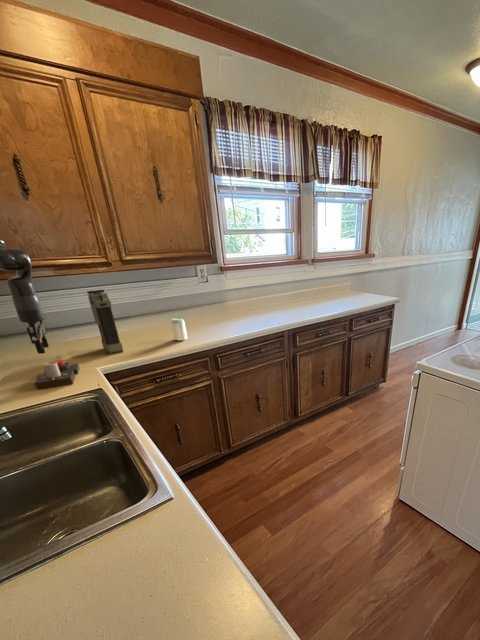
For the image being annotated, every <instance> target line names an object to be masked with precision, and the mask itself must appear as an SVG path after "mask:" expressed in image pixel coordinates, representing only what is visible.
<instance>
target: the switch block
mask: <svg viewBox="0 0 480 640" xmlns="http://www.w3.org/2000/svg"><path fill="white" fill-rule="evenodd" d="M64 363H65V365H63V366H59V367H58V368H59V371H67V370H73V371H74V374H75V375H79V371H80V365H79V363H73V364H70V363H69V362H66V361H64ZM43 374H47V373H46V371H45V370H44V372H43Z"/></svg>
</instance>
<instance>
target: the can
mask: <svg viewBox="0 0 480 640" xmlns="http://www.w3.org/2000/svg"><path fill="white" fill-rule="evenodd" d="M171 329H172V334H173V339H174V340H175V341H176V340H178V341H177V342H181V341H180V340H184V341H186V340H188V334H187V329H186V323H185V320H184V319H183V318H182V317H174V318H172V319H171ZM185 339H186V340H185Z"/></svg>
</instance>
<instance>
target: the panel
mask: <svg viewBox="0 0 480 640" xmlns="http://www.w3.org/2000/svg"><path fill="white" fill-rule="evenodd" d="M60 373H61V375H60V376H59V377H55V378H48V376H47V374H44V373H40V374H38V376H37V377H36V379H35V381H34V386H35V388H36V391H41V390H47V389H53V388H59V387H64V386H72V385H74V382H75V379H76V374H74V371H73V370H67V371H60Z"/></svg>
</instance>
